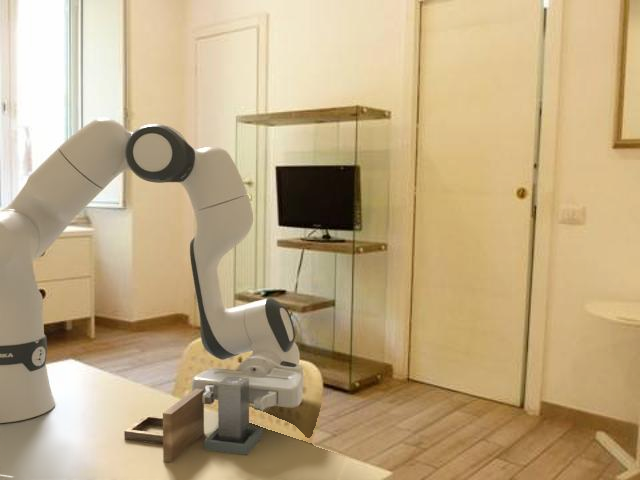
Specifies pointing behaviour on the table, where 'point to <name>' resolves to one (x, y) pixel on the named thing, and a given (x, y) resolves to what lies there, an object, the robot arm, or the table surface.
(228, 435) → the block
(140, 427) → the key socket
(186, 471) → the table surface
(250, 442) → the keeper socket
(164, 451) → the board
